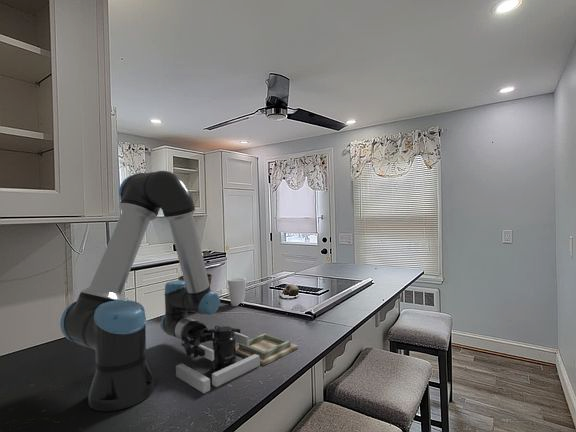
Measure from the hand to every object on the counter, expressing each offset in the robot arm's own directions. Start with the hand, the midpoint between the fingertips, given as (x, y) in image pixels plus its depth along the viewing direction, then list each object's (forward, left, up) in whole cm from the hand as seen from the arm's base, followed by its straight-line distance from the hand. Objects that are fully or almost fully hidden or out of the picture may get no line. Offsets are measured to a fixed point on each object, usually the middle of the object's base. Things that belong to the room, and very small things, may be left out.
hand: (231, 348), depth 96 cm
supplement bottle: (0, +4, -7) cm, 8 cm away
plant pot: (+29, +65, -7) cm, 71 cm away
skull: (+75, +43, -7) cm, 87 cm away
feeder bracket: (-2, +4, -7) cm, 8 cm away
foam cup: (+47, +55, -7) cm, 72 cm away
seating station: (+17, +4, -7) cm, 19 cm away
